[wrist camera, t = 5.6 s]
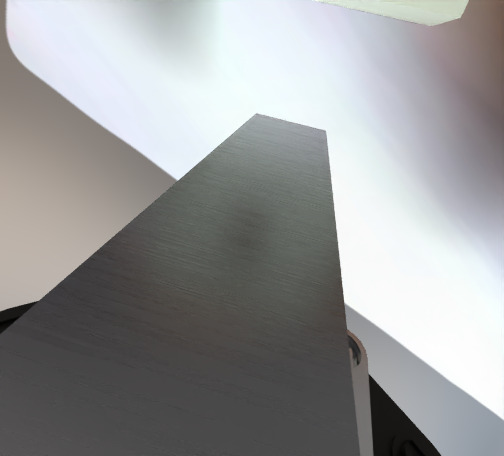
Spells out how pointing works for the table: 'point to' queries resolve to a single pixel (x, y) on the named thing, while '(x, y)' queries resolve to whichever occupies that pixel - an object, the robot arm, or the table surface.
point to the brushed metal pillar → (197, 321)
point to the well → (409, 9)
